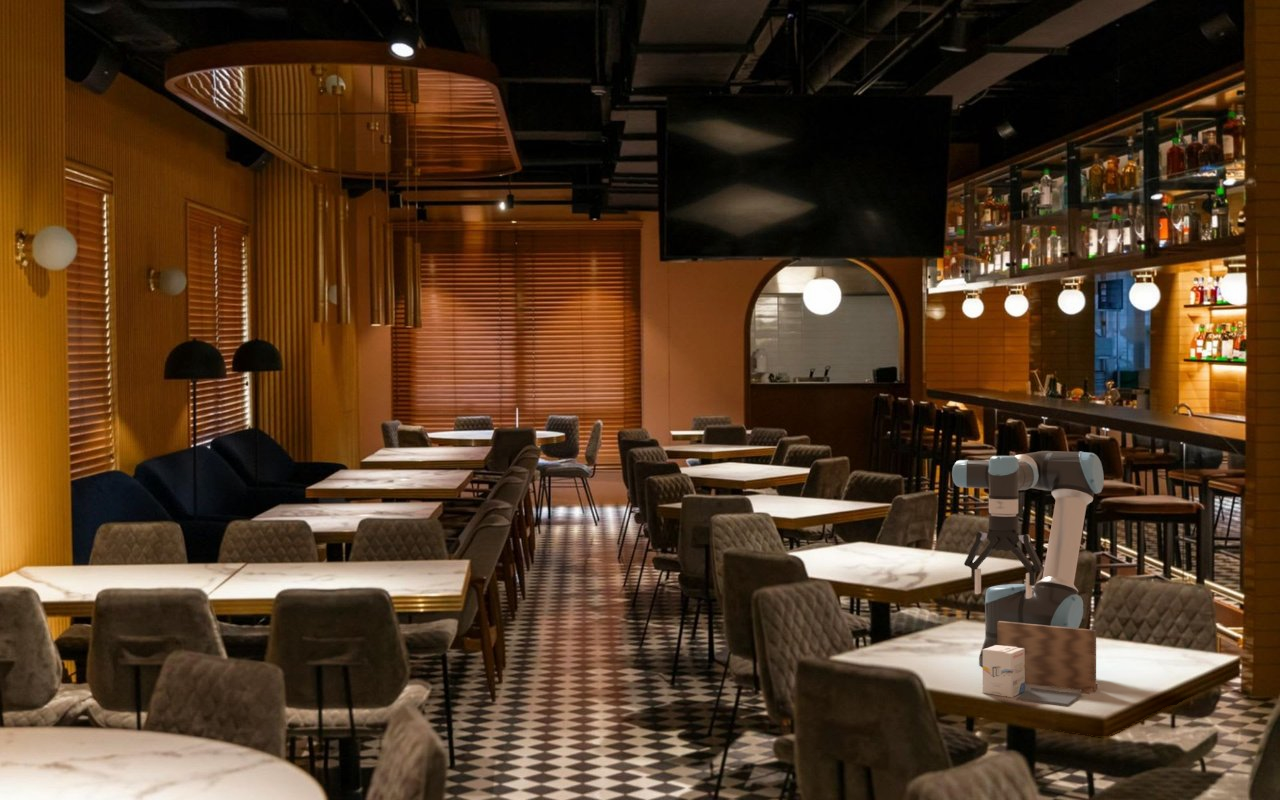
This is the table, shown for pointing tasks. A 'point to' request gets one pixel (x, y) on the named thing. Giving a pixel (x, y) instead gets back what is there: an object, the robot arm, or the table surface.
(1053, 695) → the rubber mat
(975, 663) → the table surface
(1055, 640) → the walnut screen
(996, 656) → the ink box
